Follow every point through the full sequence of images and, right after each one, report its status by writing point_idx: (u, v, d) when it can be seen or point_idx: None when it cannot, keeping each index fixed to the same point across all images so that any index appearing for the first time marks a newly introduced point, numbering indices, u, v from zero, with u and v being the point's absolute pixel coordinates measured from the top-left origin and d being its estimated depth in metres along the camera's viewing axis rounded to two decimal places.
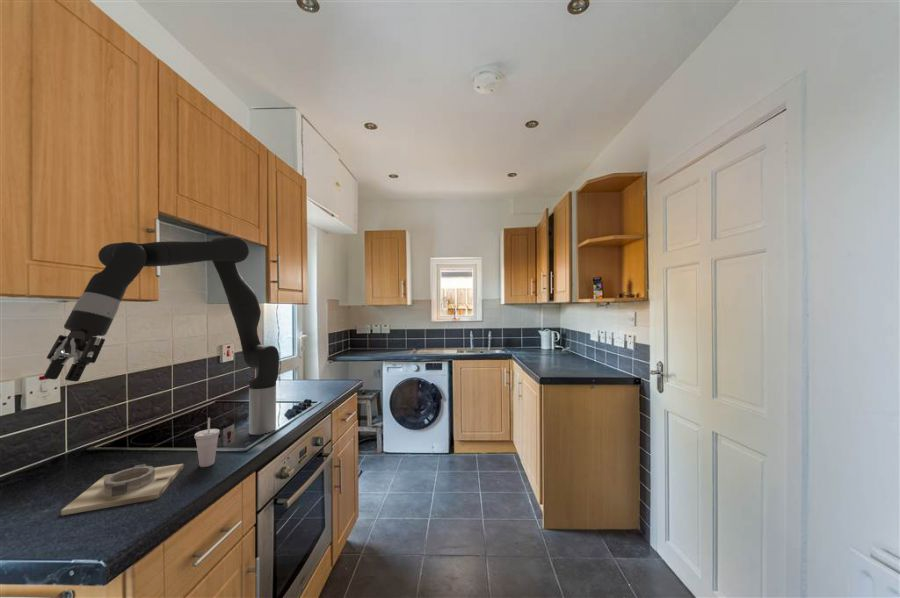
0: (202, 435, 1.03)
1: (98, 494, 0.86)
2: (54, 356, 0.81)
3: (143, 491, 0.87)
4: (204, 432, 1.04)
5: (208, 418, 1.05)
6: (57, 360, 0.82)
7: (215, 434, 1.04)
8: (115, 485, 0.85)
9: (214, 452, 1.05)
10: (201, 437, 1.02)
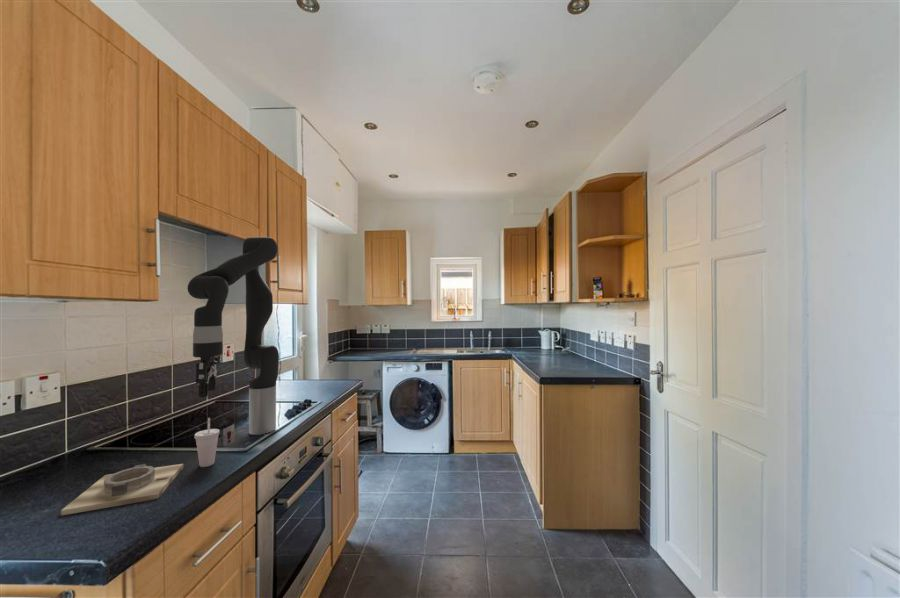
0: (202, 435, 1.03)
1: (98, 494, 0.86)
2: None
3: (143, 491, 0.87)
4: (204, 432, 1.04)
5: (208, 418, 1.05)
6: (210, 377, 1.09)
7: (215, 434, 1.04)
8: (115, 485, 0.85)
9: (214, 452, 1.05)
10: (201, 437, 1.02)
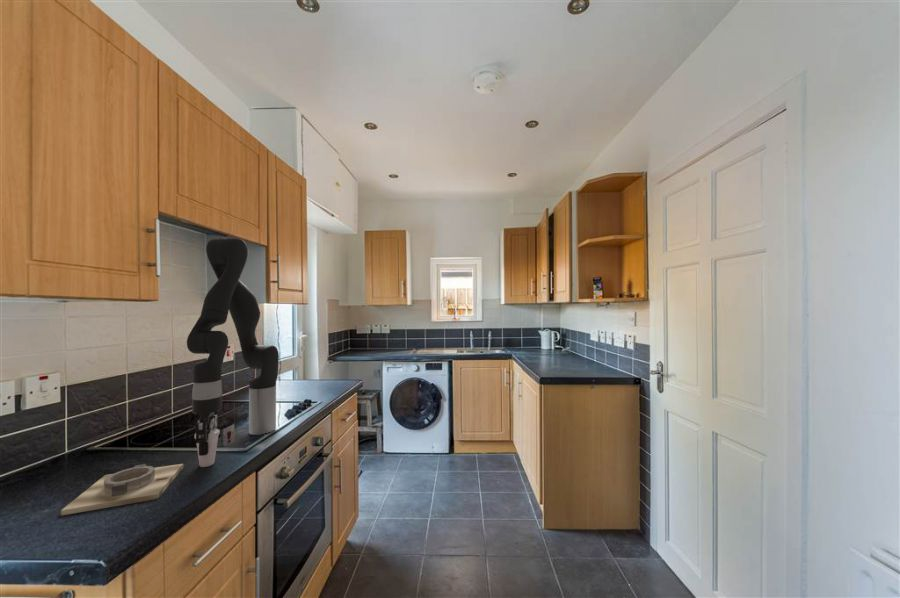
0: (202, 435, 1.03)
1: (98, 494, 0.86)
2: None
3: (143, 491, 0.87)
4: None
5: None
6: None
7: (215, 434, 1.04)
8: (115, 485, 0.85)
9: (214, 452, 1.05)
10: (201, 437, 1.02)
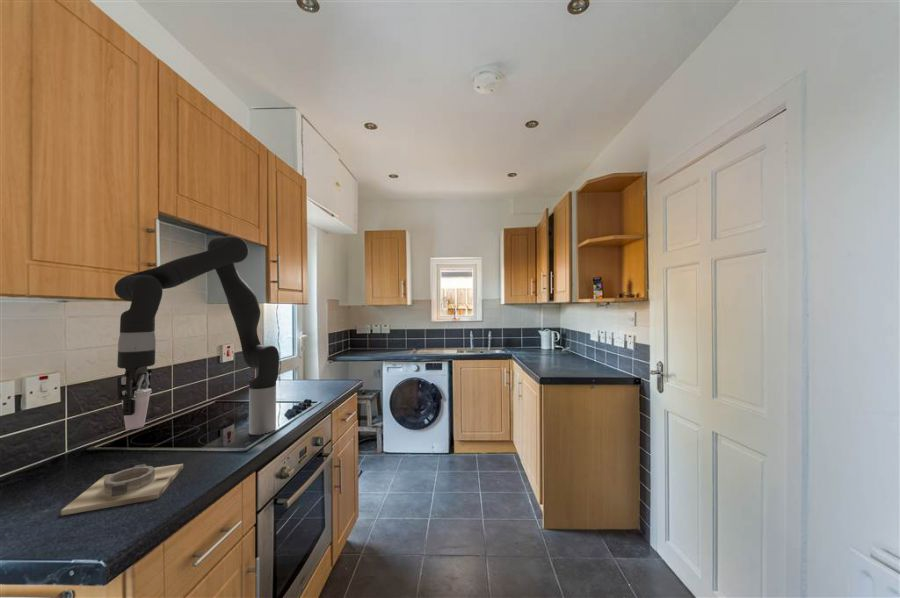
0: None
1: (98, 494, 0.86)
2: None
3: (143, 491, 0.87)
4: None
5: None
6: None
7: (144, 392, 0.91)
8: (115, 485, 0.85)
9: (143, 413, 0.92)
10: None
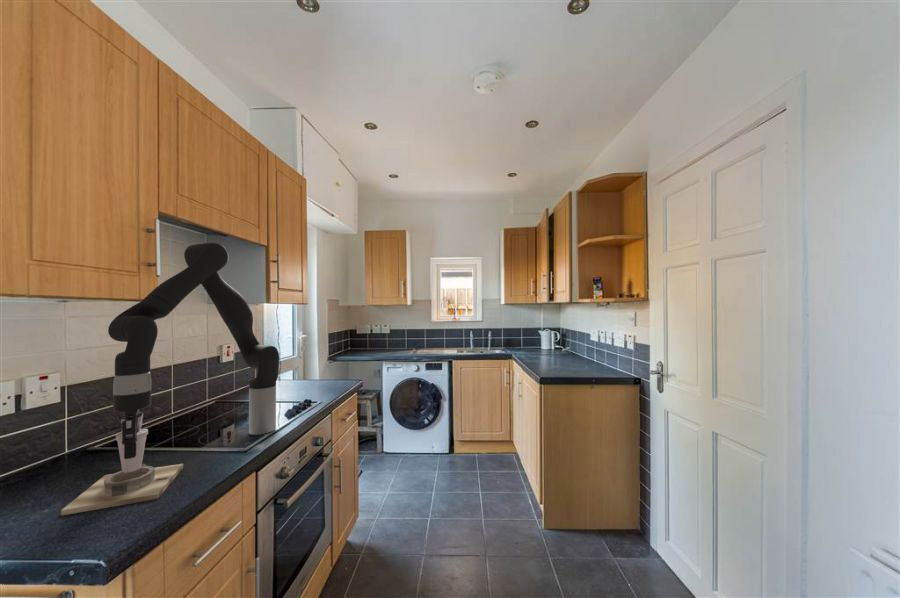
0: (127, 436, 0.89)
1: (98, 494, 0.86)
2: None
3: (143, 491, 0.87)
4: None
5: None
6: None
7: (144, 433, 0.91)
8: (115, 485, 0.85)
9: (142, 454, 0.92)
10: None
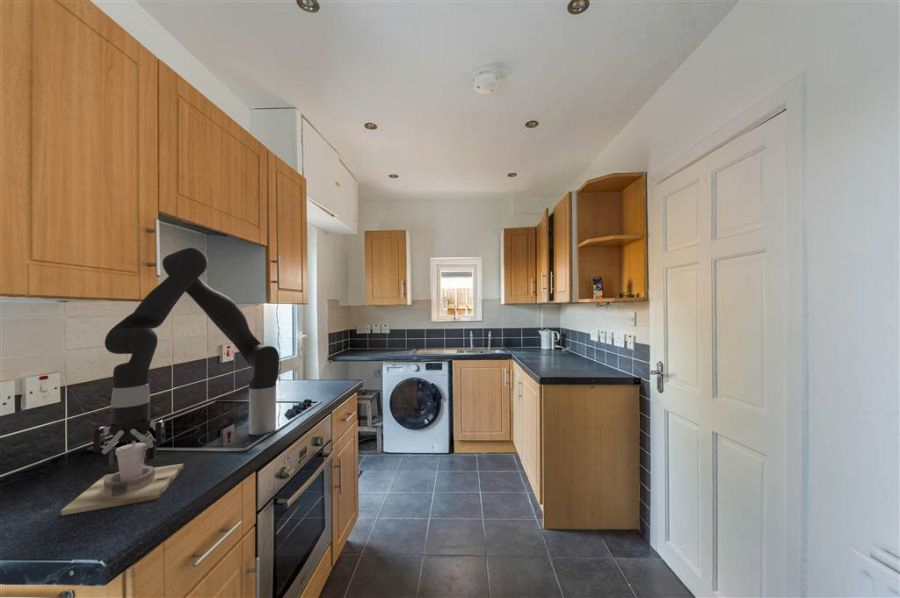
0: (141, 446, 0.92)
1: (98, 494, 0.86)
2: (107, 448, 0.88)
3: (143, 491, 0.87)
4: (131, 447, 0.91)
5: None
6: (109, 450, 0.89)
7: None
8: (115, 485, 0.85)
9: None
10: (144, 447, 0.92)
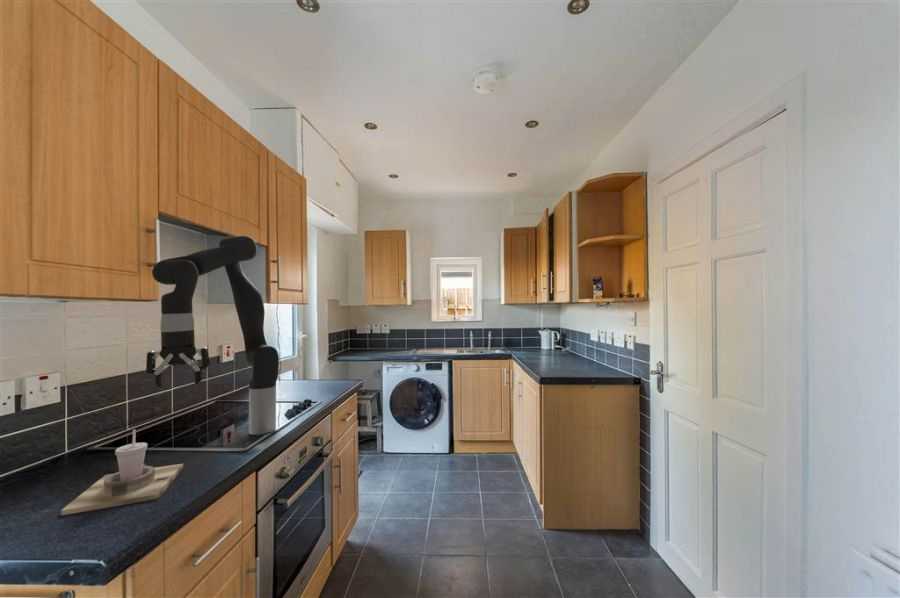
0: (141, 446, 0.92)
1: (98, 494, 0.86)
2: (159, 370, 0.96)
3: (143, 491, 0.87)
4: (131, 447, 0.91)
5: None
6: (160, 372, 0.96)
7: None
8: (115, 485, 0.85)
9: None
10: (144, 447, 0.92)
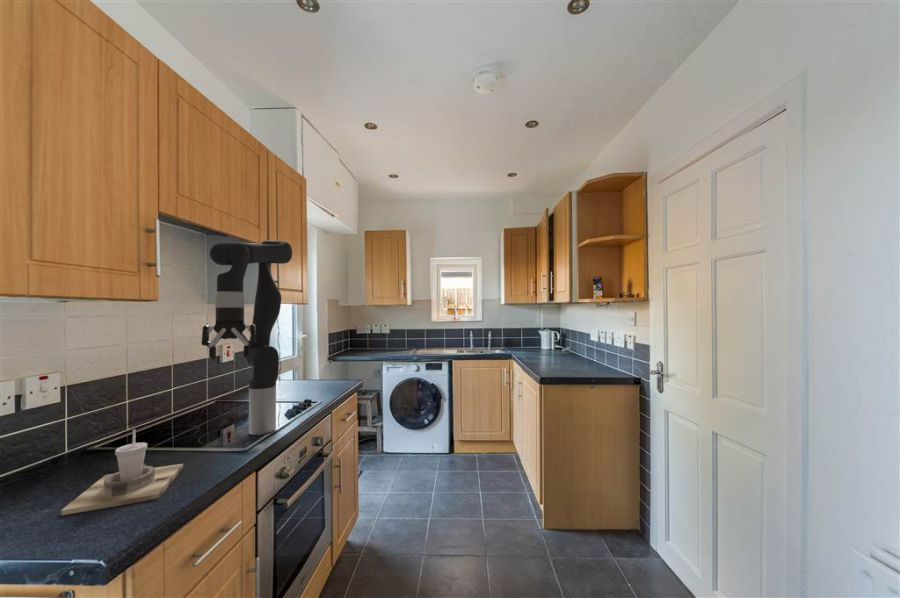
0: (141, 446, 0.92)
1: (98, 494, 0.86)
2: (213, 342, 1.04)
3: (143, 491, 0.87)
4: (131, 447, 0.91)
5: None
6: (214, 345, 1.05)
7: None
8: (115, 485, 0.85)
9: None
10: (144, 447, 0.92)
